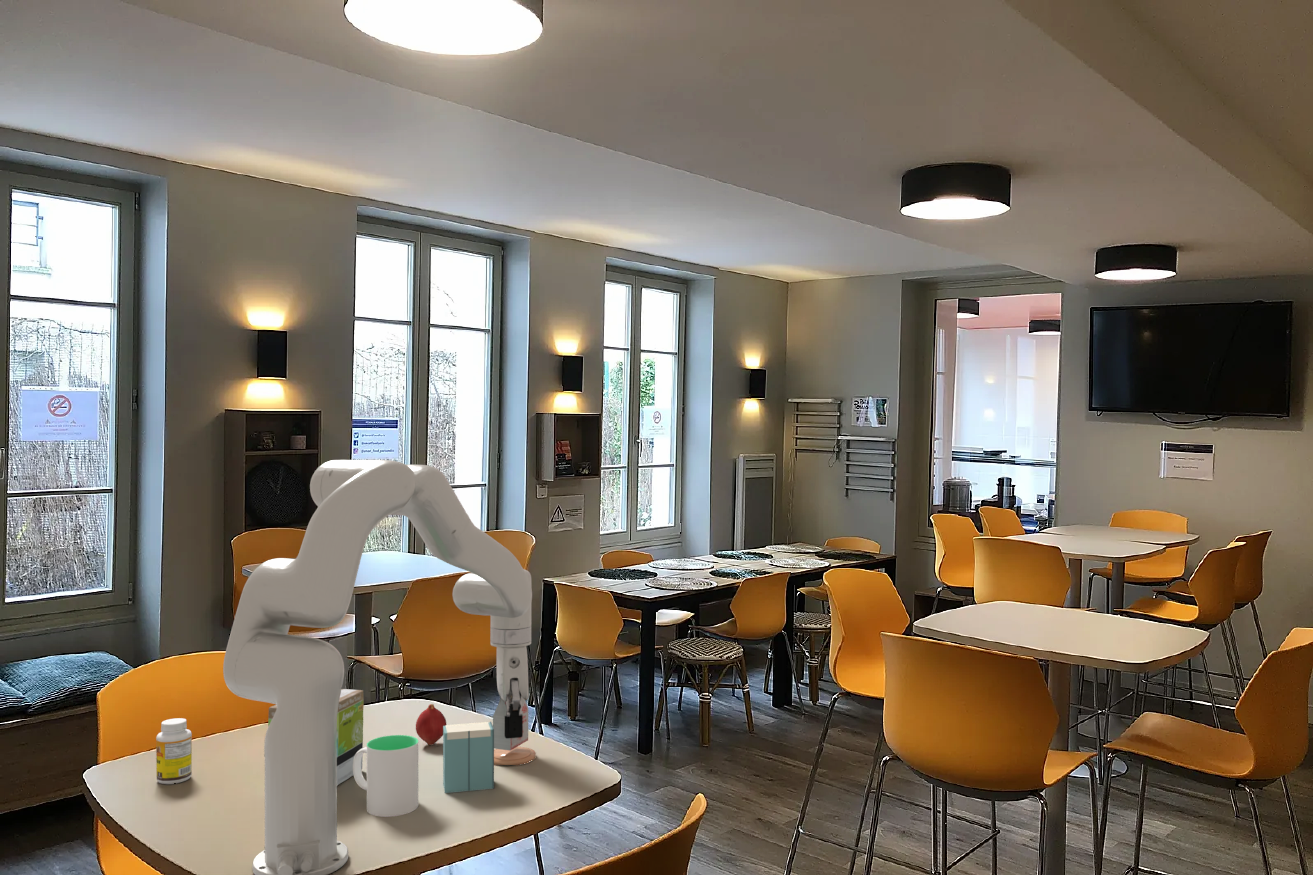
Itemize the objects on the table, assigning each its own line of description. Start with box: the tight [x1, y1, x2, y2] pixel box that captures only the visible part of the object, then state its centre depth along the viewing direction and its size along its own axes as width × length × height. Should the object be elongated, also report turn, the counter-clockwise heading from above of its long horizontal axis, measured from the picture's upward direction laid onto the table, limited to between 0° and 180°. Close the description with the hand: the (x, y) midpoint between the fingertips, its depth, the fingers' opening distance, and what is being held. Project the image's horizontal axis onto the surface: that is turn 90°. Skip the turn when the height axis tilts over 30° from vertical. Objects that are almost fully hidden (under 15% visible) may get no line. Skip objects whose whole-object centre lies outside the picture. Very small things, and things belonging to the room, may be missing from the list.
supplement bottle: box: [155, 717, 193, 785], centre depth 173 cm, size 6×6×10 cm
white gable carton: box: [492, 696, 529, 751], centre depth 184 cm, size 4×7×10 cm, turn 159°
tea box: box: [267, 688, 365, 786], centre depth 172 cm, size 15×10×15 cm, turn 168°
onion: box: [415, 703, 448, 746], centre depth 192 cm, size 6×6×8 cm
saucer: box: [494, 746, 537, 766], centre depth 184 cm, size 9×9×1 cm
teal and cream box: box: [442, 721, 495, 794], centre depth 170 cm, size 4×8×10 cm, turn 105°
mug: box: [353, 734, 419, 818], centre depth 161 cm, size 12×8×10 cm, turn 67°
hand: (510, 730), depth 184 cm, fingers closed on white gable carton, 7 cm apart
